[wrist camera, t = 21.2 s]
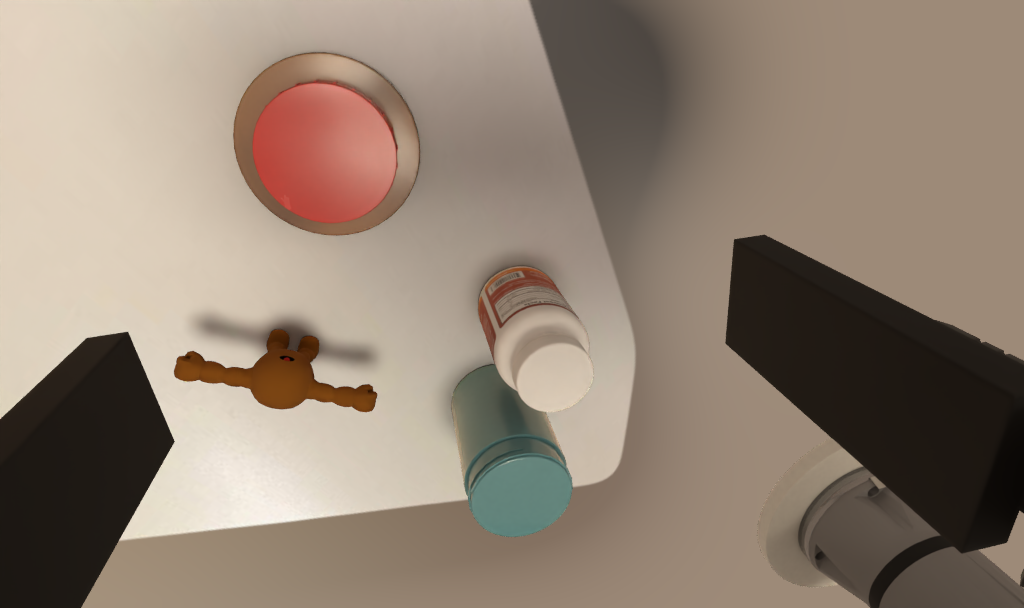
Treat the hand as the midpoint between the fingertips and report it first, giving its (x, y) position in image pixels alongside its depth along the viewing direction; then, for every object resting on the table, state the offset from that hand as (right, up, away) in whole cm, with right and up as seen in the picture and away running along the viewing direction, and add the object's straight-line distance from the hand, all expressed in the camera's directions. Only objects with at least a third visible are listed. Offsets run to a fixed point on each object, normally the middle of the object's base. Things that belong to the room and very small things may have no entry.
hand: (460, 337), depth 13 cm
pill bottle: (+2, +1, +30) cm, 30 cm away
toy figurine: (-14, -2, +28) cm, 32 cm away
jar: (0, -7, +33) cm, 34 cm away
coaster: (-10, +11, +23) cm, 27 cm away
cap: (-10, +9, +21) cm, 25 cm away
